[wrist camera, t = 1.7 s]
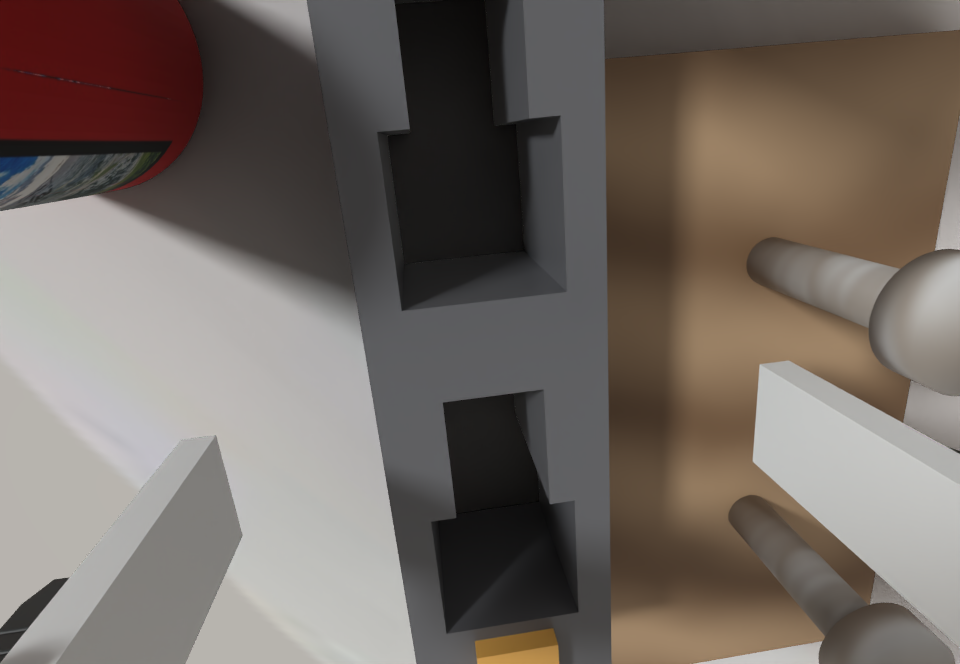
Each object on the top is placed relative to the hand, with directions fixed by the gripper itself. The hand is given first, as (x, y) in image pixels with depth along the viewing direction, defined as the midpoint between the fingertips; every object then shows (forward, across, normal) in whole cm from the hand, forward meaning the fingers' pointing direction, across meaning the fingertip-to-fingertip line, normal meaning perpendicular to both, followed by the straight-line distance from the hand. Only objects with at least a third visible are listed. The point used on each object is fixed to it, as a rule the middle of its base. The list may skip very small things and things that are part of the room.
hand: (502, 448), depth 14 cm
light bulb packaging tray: (+7, 0, +2) cm, 7 cm away
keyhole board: (+7, +10, -3) cm, 12 cm away
